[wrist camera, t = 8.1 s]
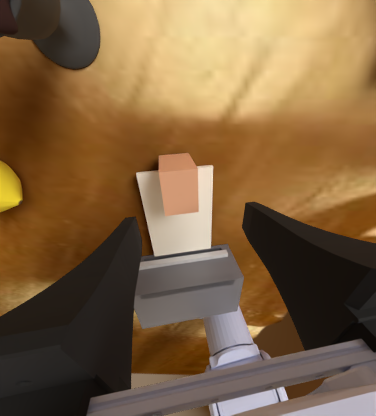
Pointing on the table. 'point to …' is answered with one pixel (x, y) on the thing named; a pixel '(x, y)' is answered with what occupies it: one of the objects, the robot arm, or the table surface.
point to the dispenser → (187, 286)
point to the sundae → (54, 28)
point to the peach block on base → (177, 204)
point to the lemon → (9, 188)
